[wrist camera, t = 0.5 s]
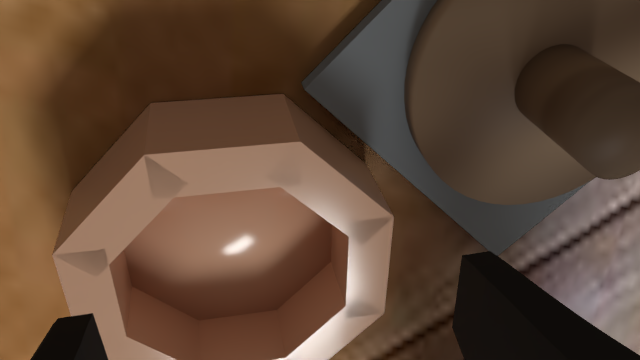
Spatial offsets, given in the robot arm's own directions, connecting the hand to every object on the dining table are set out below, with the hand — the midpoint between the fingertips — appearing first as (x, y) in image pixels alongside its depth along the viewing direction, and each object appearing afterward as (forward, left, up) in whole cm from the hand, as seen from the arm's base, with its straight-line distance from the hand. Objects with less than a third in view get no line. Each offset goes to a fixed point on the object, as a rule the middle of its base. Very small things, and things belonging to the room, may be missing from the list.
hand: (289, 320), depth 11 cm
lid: (-7, -8, -9) cm, 14 cm away
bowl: (-3, +4, -10) cm, 11 cm away
